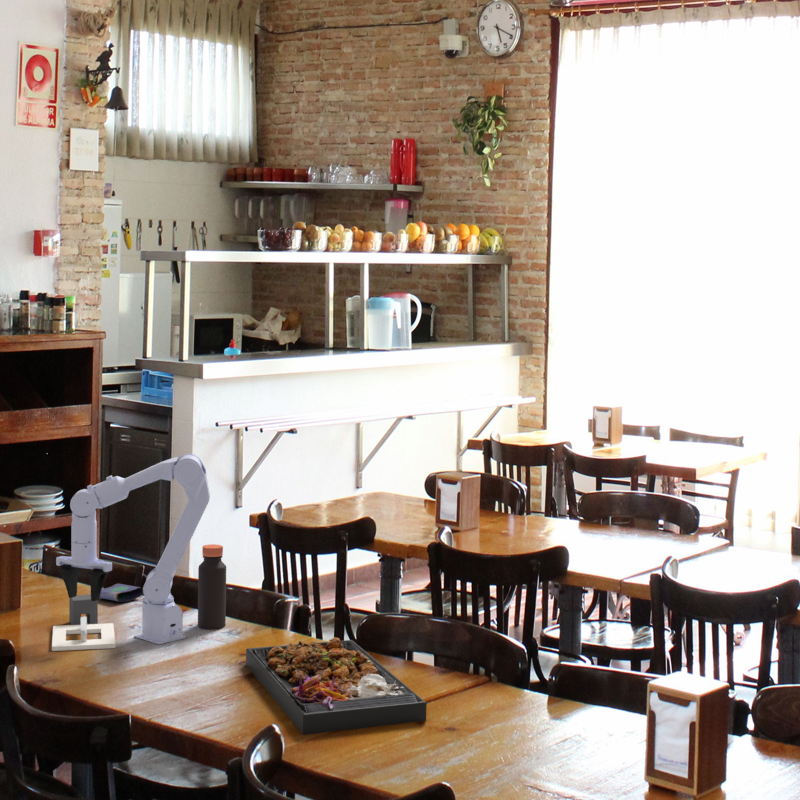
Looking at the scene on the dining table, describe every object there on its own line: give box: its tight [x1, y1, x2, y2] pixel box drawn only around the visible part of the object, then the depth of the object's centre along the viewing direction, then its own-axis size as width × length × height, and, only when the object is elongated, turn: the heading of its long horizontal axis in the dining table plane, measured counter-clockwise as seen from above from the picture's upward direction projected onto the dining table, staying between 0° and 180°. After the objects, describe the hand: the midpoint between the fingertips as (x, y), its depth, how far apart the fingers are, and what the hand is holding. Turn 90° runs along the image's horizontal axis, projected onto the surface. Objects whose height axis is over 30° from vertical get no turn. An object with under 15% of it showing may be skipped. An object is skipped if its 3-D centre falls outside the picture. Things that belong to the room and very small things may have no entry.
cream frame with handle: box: [51, 615, 117, 652], centre depth 282 cm, size 18×14×4 cm
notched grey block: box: [68, 593, 99, 625], centre depth 295 cm, size 6×5×6 cm
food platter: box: [245, 636, 427, 736], centre depth 247 cm, size 45×25×10 cm, turn 21°
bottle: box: [197, 543, 227, 631], centre depth 294 cm, size 7×7×20 cm
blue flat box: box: [99, 583, 144, 603], centre depth 319 cm, size 9×3×11 cm
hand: (83, 598), depth 282 cm, fingers open, 6 cm apart
